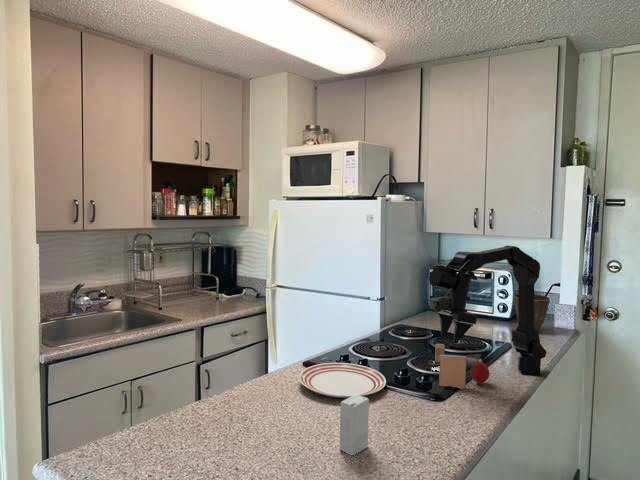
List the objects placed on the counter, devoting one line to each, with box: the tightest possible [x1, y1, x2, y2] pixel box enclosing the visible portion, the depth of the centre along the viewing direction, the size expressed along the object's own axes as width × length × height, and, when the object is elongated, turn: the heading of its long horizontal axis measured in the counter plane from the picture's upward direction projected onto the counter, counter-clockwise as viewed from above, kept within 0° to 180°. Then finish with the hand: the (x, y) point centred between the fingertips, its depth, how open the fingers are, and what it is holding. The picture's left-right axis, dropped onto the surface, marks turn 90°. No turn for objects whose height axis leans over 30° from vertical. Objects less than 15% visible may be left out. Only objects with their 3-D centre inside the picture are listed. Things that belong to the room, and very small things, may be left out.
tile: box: [438, 354, 468, 390], centre depth 151 cm, size 2×8×10 cm, turn 78°
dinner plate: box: [298, 362, 387, 399], centre depth 152 cm, size 28×27×3 cm
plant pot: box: [513, 293, 551, 333], centre depth 218 cm, size 15×15×16 cm
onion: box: [470, 359, 491, 385], centre depth 154 cm, size 6×6×8 cm
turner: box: [431, 343, 446, 371], centre depth 170 cm, size 15×6×6 cm, turn 168°
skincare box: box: [339, 395, 370, 456], centre depth 112 cm, size 6×4×12 cm
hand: (448, 339), depth 152 cm, fingers open, 9 cm apart
